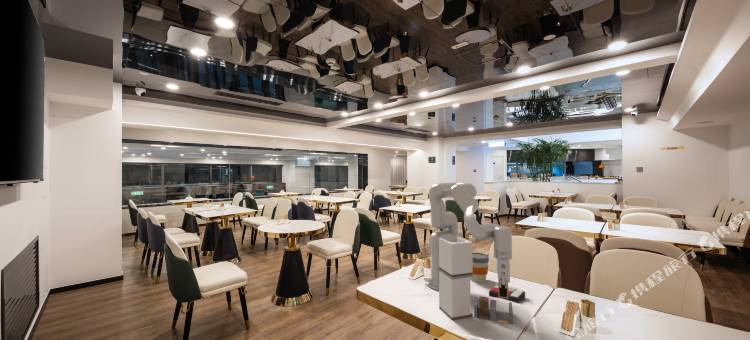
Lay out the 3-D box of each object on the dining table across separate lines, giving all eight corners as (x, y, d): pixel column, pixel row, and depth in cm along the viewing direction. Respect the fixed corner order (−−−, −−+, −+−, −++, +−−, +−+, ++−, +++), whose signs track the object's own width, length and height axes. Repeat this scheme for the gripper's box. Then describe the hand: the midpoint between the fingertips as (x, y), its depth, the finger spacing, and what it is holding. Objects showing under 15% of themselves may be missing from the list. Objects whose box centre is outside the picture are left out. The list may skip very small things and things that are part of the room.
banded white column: (472, 318, 134) (472, 242, 134) (451, 322, 131) (451, 244, 131) (458, 307, 145) (458, 236, 145) (439, 310, 142) (439, 238, 142)
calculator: (496, 283, 165) (525, 289, 155) (496, 291, 165) (525, 298, 155) (488, 289, 157) (518, 296, 147) (488, 298, 157) (518, 305, 147)
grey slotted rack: (474, 319, 134) (474, 306, 133) (475, 309, 143) (475, 297, 143) (513, 326, 128) (513, 312, 127) (511, 315, 137) (511, 302, 137)
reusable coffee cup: (463, 276, 185) (463, 252, 185) (482, 275, 186) (482, 252, 186) (472, 284, 172) (472, 259, 172) (492, 283, 174) (492, 258, 174)
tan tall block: (508, 298, 131) (508, 282, 131) (498, 297, 132) (498, 281, 132) (508, 294, 134) (507, 279, 134) (498, 293, 136) (498, 278, 136)
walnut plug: (479, 314, 136) (479, 299, 135) (479, 310, 139) (479, 296, 139) (488, 316, 134) (488, 301, 134) (488, 312, 138) (488, 297, 138)
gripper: (512, 260, 124) (513, 303, 124) (511, 250, 139) (511, 288, 140) (493, 258, 127) (494, 301, 127) (493, 248, 142) (494, 286, 142)
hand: (503, 294), depth 133 cm, fingers closed on tan tall block, 4 cm apart
